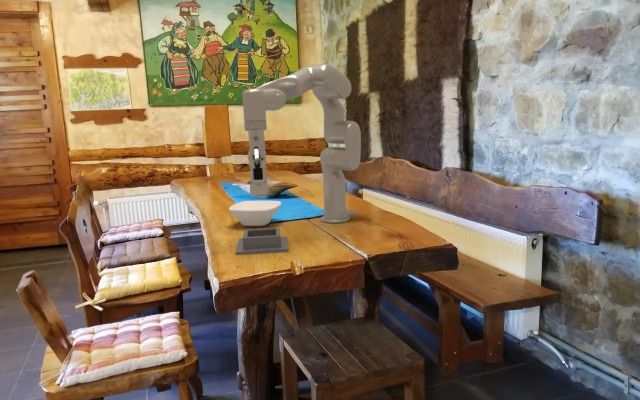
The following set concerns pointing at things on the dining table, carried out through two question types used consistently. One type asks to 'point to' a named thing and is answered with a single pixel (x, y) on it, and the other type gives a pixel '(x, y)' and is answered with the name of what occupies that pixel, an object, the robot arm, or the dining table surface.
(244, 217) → the bowl
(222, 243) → the dining table surface
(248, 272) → the dining table surface
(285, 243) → the gray square tray
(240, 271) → the dining table surface
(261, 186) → the plastic bottle
